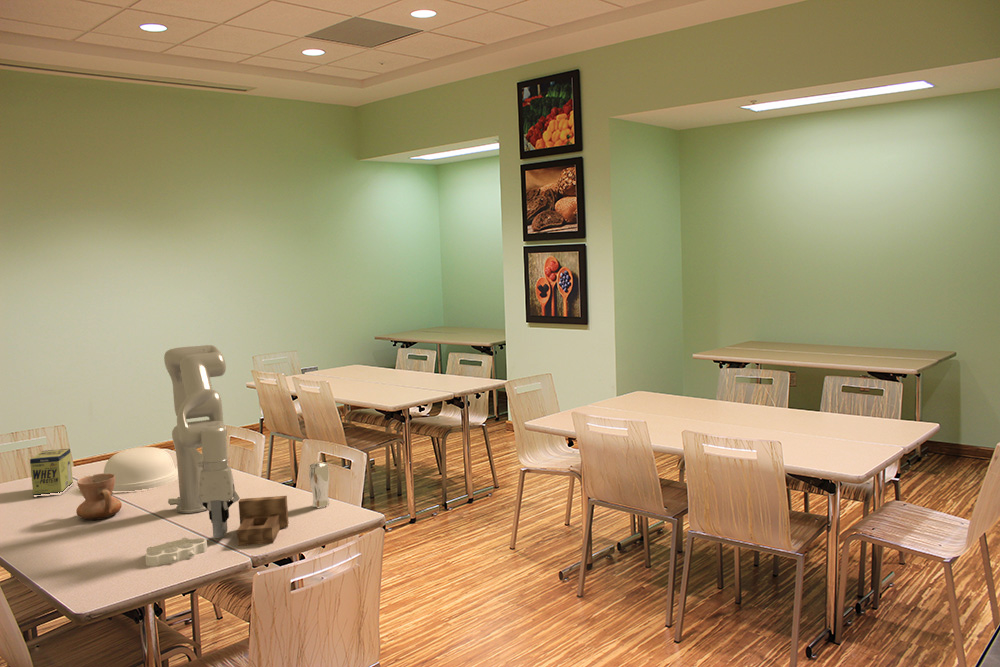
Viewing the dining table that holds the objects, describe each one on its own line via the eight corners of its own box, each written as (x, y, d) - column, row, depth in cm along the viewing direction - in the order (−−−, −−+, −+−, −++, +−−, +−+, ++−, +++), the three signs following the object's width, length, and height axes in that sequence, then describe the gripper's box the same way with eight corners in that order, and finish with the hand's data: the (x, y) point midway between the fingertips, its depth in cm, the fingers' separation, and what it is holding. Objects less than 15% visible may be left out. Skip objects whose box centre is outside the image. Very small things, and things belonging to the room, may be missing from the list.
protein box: (33, 498, 308) (29, 459, 306) (45, 487, 323) (42, 450, 321) (62, 495, 310) (58, 456, 309) (73, 484, 325) (70, 448, 324)
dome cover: (167, 469, 346) (164, 437, 345) (193, 481, 324) (190, 447, 323) (88, 485, 325) (84, 451, 324) (109, 499, 303) (106, 463, 301)
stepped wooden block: (230, 546, 244) (228, 515, 244) (242, 528, 261) (240, 498, 260) (280, 542, 246) (278, 511, 245) (288, 524, 263) (286, 495, 262)
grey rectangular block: (213, 537, 248) (210, 501, 247) (217, 531, 254) (215, 495, 253) (223, 537, 249) (220, 500, 247) (227, 530, 254) (225, 494, 253)
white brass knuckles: (194, 543, 250) (214, 554, 240) (135, 559, 238) (154, 571, 227) (193, 532, 250) (213, 543, 239) (135, 548, 238) (153, 560, 227)
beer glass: (334, 503, 285) (332, 462, 283) (324, 509, 278) (321, 467, 277) (317, 502, 287) (315, 461, 286) (307, 508, 280) (304, 466, 279)
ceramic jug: (70, 516, 282) (66, 478, 280) (112, 506, 292) (109, 469, 290) (87, 528, 269) (83, 488, 267) (131, 517, 279) (127, 478, 278)
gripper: (185, 469, 244) (189, 527, 246) (239, 466, 246) (243, 523, 248) (192, 463, 252) (196, 519, 254) (244, 460, 253) (248, 515, 255)
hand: (219, 520), depth 251 cm, fingers closed on grey rectangular block, 3 cm apart
